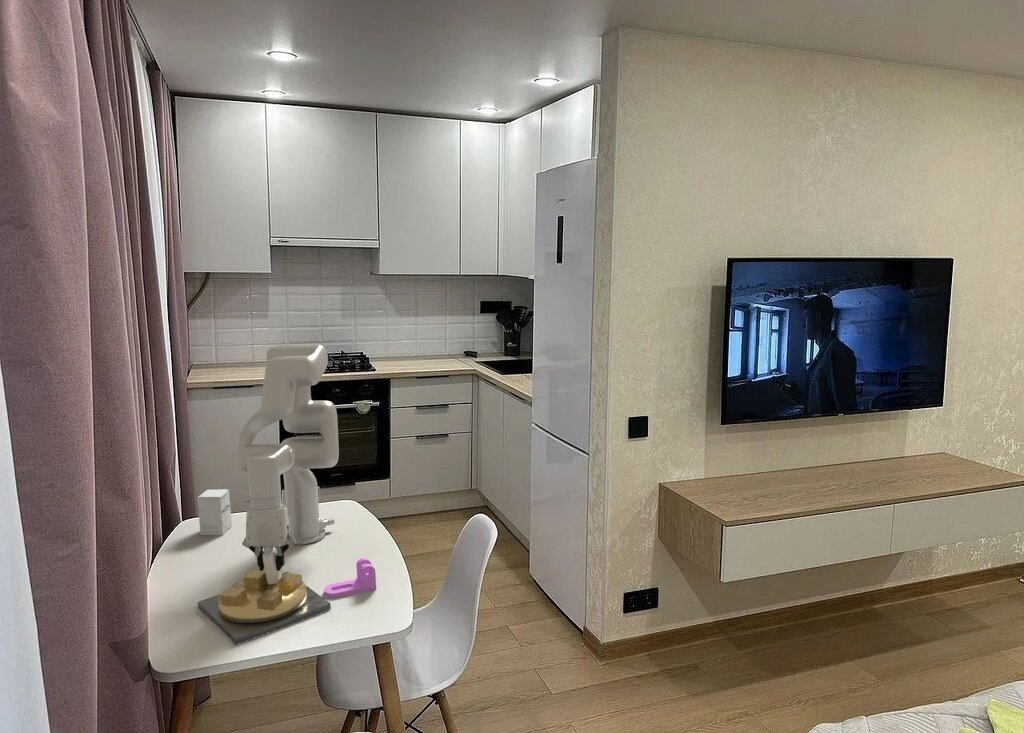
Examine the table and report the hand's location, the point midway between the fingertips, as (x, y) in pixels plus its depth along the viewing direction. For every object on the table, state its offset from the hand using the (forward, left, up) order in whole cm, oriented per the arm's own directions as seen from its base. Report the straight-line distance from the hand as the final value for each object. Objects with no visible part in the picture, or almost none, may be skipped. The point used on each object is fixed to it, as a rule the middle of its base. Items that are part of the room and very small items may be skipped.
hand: (271, 567), depth 194 cm
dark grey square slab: (+5, +5, -7) cm, 10 cm away
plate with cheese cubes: (+5, +5, -6) cm, 9 cm away
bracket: (-16, +11, -8) cm, 21 cm away
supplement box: (-5, -53, -8) cm, 54 cm away
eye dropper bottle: (0, 0, -4) cm, 4 cm away
